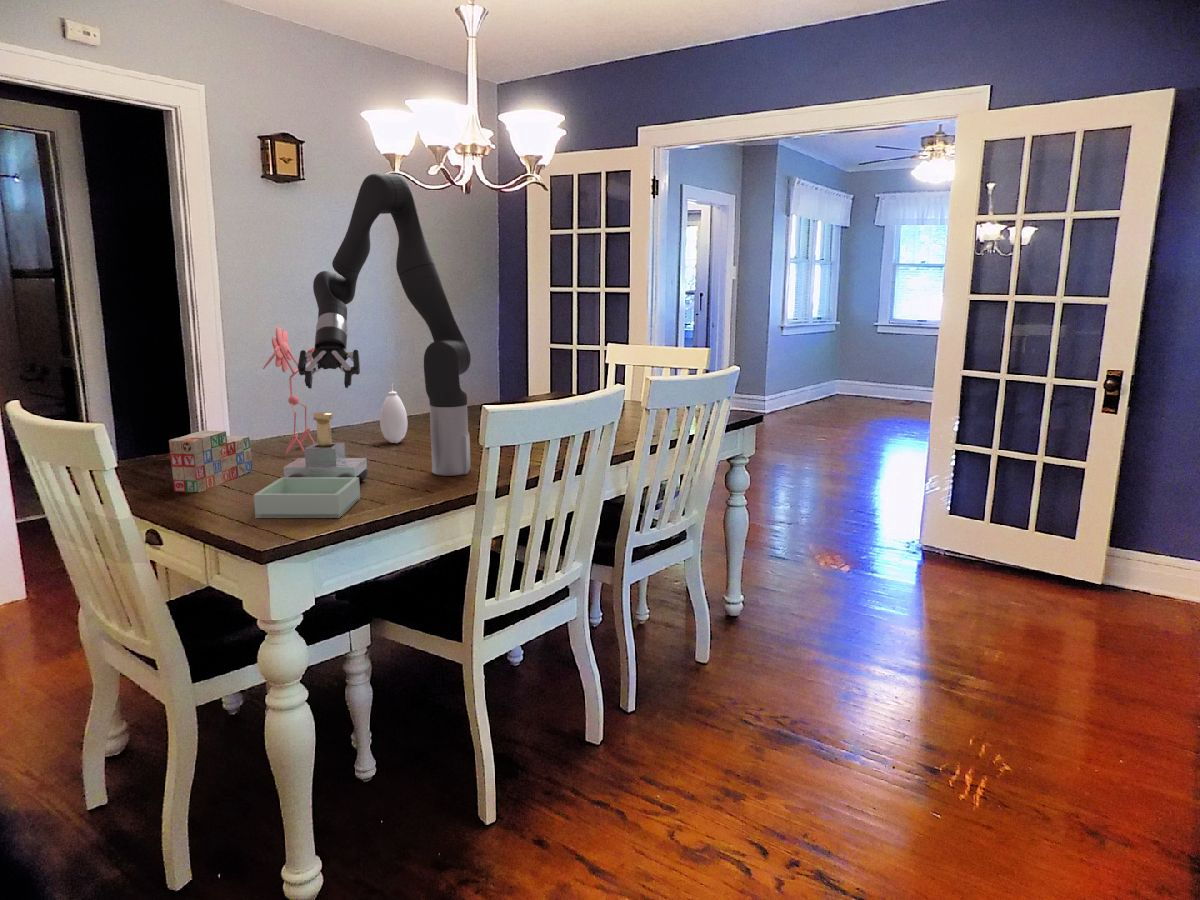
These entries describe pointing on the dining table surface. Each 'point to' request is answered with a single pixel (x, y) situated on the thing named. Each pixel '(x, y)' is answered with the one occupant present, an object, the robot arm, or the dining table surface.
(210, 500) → the dining table surface
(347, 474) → the trolley
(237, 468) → the stack of blocks
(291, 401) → the figurine
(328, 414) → the pin
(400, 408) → the sauce bottle
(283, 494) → the tray
